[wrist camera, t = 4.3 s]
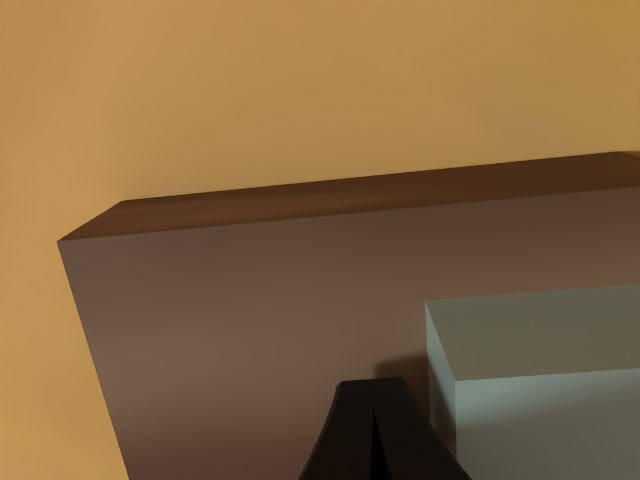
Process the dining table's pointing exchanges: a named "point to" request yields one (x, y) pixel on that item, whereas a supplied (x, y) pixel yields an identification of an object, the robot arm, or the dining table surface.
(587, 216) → the board
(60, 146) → the dining table surface
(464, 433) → the sage tile
